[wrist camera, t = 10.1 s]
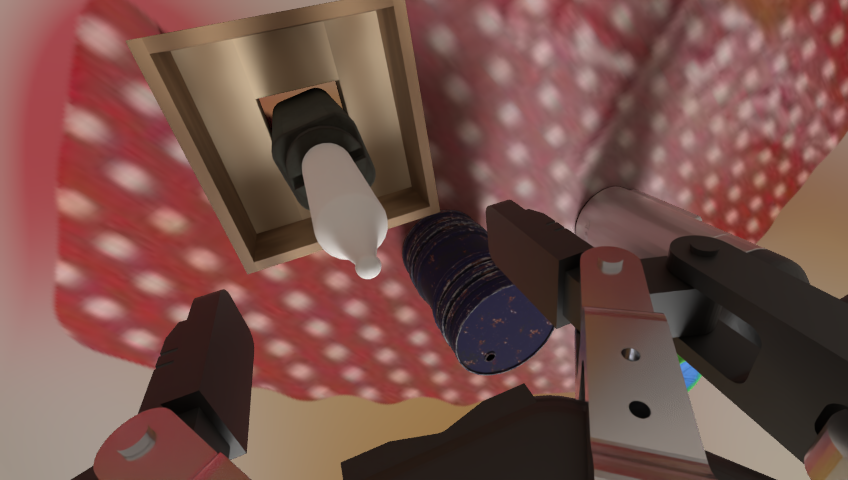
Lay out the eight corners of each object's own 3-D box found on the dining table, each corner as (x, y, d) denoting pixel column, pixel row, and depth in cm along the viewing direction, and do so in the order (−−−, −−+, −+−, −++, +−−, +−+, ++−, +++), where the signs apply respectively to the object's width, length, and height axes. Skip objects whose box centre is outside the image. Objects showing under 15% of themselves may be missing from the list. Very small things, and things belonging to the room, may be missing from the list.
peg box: (374, -1, 30) (403, -12, 23) (411, 182, 38) (440, 211, 32) (162, 40, 27) (125, 40, 20) (252, 229, 35) (247, 274, 29)
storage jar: (429, 195, 40) (499, 266, 27) (495, 226, 45) (579, 298, 32) (386, 271, 42) (432, 367, 30) (452, 292, 47) (516, 383, 35)
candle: (267, 107, 31) (250, 247, 10) (323, 83, 32) (416, 169, 11) (297, 162, 34) (333, 359, 13) (349, 138, 34) (461, 292, 14)
